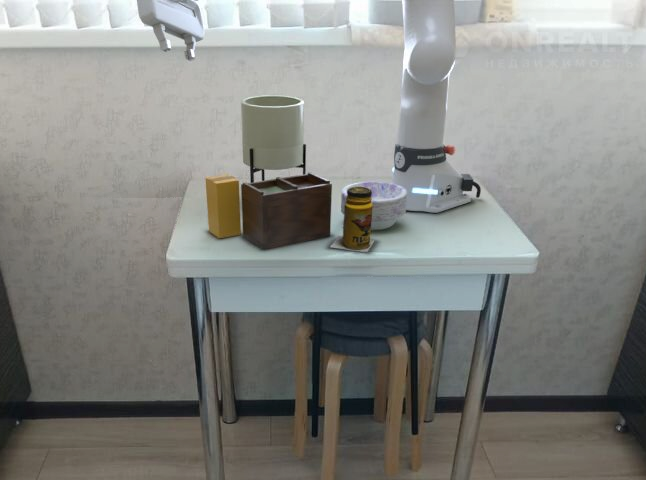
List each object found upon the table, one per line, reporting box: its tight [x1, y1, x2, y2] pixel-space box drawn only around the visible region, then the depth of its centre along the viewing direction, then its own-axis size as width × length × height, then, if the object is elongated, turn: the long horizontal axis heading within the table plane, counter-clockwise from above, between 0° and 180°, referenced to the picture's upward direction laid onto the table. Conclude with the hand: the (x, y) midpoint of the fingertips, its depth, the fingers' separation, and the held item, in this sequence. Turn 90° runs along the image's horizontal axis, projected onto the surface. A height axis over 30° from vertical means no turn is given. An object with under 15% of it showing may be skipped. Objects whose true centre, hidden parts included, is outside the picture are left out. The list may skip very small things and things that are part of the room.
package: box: [204, 174, 242, 239], centre depth 156 cm, size 6×6×12 cm
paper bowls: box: [340, 181, 407, 231], centre depth 163 cm, size 15×15×8 cm
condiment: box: [329, 187, 375, 253], centre depth 151 cm, size 7×8×12 cm
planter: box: [240, 94, 307, 183], centre depth 174 cm, size 15×16×23 cm
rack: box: [240, 171, 333, 250], centre depth 155 cm, size 17×10×12 cm, turn 121°
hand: (178, 55), depth 153 cm, fingers open, 8 cm apart
